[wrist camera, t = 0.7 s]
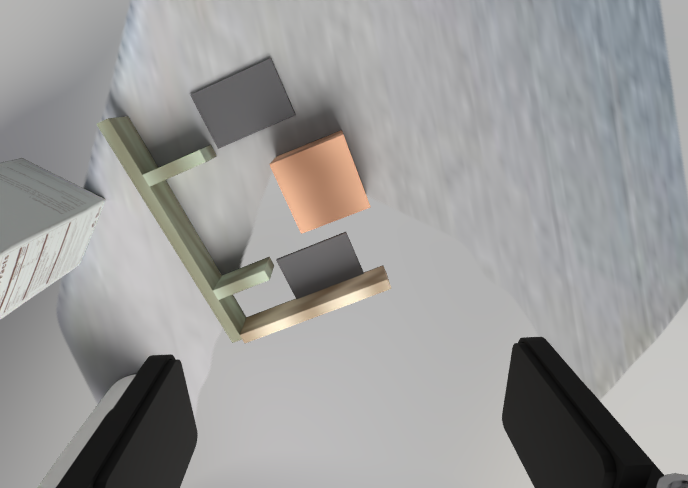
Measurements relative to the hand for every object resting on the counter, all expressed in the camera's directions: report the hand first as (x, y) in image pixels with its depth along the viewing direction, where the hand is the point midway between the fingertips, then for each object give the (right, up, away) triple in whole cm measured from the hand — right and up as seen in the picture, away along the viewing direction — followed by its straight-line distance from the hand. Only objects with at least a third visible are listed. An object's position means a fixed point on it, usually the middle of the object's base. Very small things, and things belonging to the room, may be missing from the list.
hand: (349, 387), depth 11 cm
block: (-2, +10, +23) cm, 25 cm away
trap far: (-2, +2, +26) cm, 26 cm away
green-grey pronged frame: (-7, +8, +23) cm, 25 cm away
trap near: (-8, +15, +20) cm, 27 cm away
